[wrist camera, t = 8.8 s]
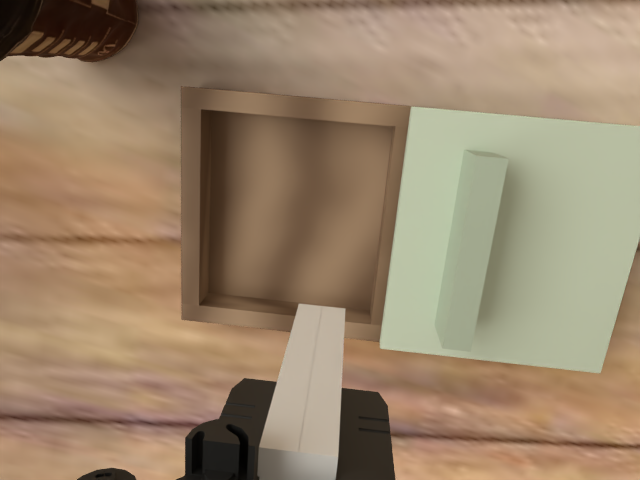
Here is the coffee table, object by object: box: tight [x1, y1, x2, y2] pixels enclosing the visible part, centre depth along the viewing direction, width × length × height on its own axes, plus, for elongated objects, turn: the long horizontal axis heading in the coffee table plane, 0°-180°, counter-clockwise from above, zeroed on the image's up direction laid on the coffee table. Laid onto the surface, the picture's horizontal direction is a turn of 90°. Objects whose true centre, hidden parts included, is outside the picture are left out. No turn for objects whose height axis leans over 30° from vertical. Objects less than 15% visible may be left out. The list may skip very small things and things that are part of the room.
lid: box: [379, 106, 640, 373], centre depth 27 cm, size 14×15×4 cm
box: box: [181, 86, 414, 342], centre depth 31 cm, size 14×15×3 cm
